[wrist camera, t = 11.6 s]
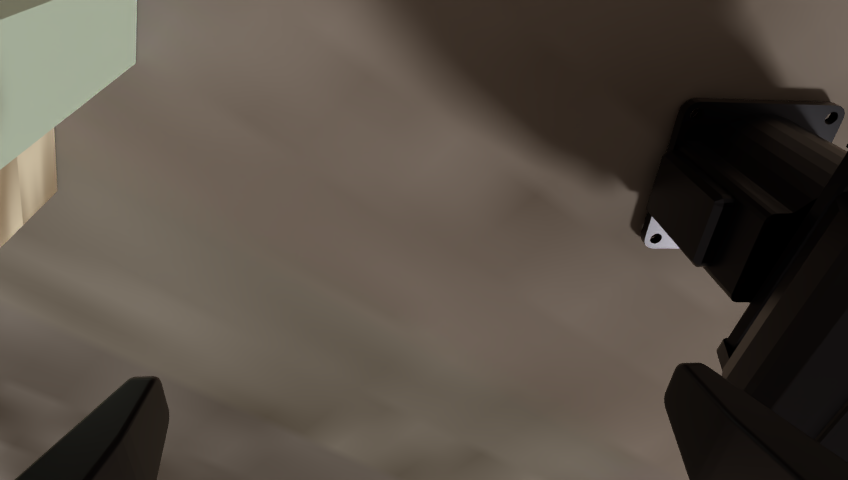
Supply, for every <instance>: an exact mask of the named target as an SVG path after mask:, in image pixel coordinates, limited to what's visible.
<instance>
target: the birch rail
mask: <svg viewBox="0 0 848 480" xmlns="http://www.w3.org/2000/svg"><path fill="white" fill-rule="evenodd" d="M56 192H57V173H56V154H55V135H54V128H53V129H51V130H50V131H49V132H48V133H46V134H45V135H44V136H43V137H41V138H40V139H39V140H37V141H36V142H35V143H34V144H32V145H31V146H30V147H29V148H27V149H26V150H25V151H23V152H22V153H21V154H20V155H18V156H17V157H16V158H15V159H13V160H12V161H11V162H9V163H8V164H7V165H6V166H4V167H3V168H2V169H1V170H0V248H1V247H2V246H3V245H4V244H5V243H6V242H7V241H8V240H9V239H10V238H11V237H12V236H13V235H14V234H15V233H16V232H17V231H18V230H19V229H20V228H21V227H22V226H23V225H24V224H25V223H26V222H27V221H28V220H29V219H30V218H31V217H32V216H33V215H34V214H35V213H36V212H37V211H38V210H39V209H40V208H41V207H42V206H43V205H44V204H45V203H46V202H47V201H48V200H49V199H50V198H51V197H52V196H53V195H54V194H55V193H56Z"/></svg>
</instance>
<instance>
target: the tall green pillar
mask: <svg viewBox="0 0 848 480" xmlns="http://www.w3.org/2000/svg"><path fill="white" fill-rule="evenodd" d="M136 25H137V0H0V170H1V169H2V168H3V167H4V166H6V165H7V164H8V163H9V162H11V161H12V160H13V159H15V158H16V157H17V156H18V155H20V154H21V153H22V152H23V151H25V150H26V149H27V148H29V147H30V146H31V145H32V144H34V143H35V142H36V141H37V140H39V139H40V138H41V137H43V136H44V135H45V134H46V133H48V132H49V131H50V130H51V129H53V128H54V127H55V126H57V125H58V124H59V123H60V122H62V121H63V120H64V119H65V118H67V117H68V116H69V115H71V114H72V113H73V112H74V111H76V110H77V109H78V108H79V107H81V106H82V105H83V104H85V103H86V102H87V101H88V100H90V99H91V98H92V97H93V96H95V95H96V94H97V93H99V92H100V91H101V90H102V89H104V88H105V87H106V86H107V85H109V84H110V83H111V82H113V81H114V80H115V79H116V78H118V77H119V76H120V75H121V74H123V73H124V72H125V71H127V70H128V69H129V68H130V67H132V66H133V65H134V64H135V63H136Z"/></svg>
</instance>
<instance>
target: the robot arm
mask: <svg viewBox="0 0 848 480" xmlns="http://www.w3.org/2000/svg"><path fill="white" fill-rule="evenodd" d="M697 108H698V112H697V114H696V115H695V116H693V117H690V114H691V113H692V111H693V110H695V109H697ZM829 113H831V114H830V116H829V117H828V118H827V119H826V120H825V118H826V116H827V115H828V114H829ZM844 114H845V112H844V109H843V108H842V107H841V106H839V105H837V104H835V103H831V102H809V101H775V100H742V99H708V98H694V99H690V100H688V101H686V102H685V103H684V104H683V105H682V106H681V108H680V110H679V113H678V117H677V120H676V123H675V126H674V129H673V133H672V136H671V139H670V142H669V145H668V149H667V152H666V153H665V154H664V155H663V156H662V159H661V163H660V166H659V169H658V172H657V176H656V179H655V182H654V185H653V189H652V192H651V195H650V198H649V201H648V205H647V211H648V213H647V216H646V219H645V222H644V226H643V229H642V232H641V239H642V241H643V242H644V244H645V245H646V246H647V247H649V248H680V249H681V251H682V252H683V253H684V254H685V255H686V256H687V257H688V259H689V260H690V261H691V262H692V263H693V264H694V265H695V266H696V267H703V268H704V269H705V270H706V271H707V272H708V274H709V275H710V276H711V277H712V278H713V279H714V280H715V281H716V283H717V284H718V285H719V286H720V287H721V288H722V289H723V291H724V292H725V293H726V294H727V295H728V296H729V297H730V299H731V300H732V301H734V302H749V303H750V305H749V306H748V308H747V309H746V311H745V312H744V314H743V315H742V317H741V319H740V320H739V322H738V323H737V325H736V326H735V328H734V330H733V331H732V333H731V334H730V336H729V337H728V338H725V339H723V341H722V342H721V344H720V346H719V347H718V349H717V354H718V358H719V361H720V364H721V368H722V371H723V372H722V376H721V375H719V374H718V373H716V372H715V371H713V370H712V369H711V368H709V367H708V366H706V365H704V364H702V363H681V364H679V365H678V366H677V367H676V368H675V371H674V373H673V375H672V378H671V380H670V383H669V385H668V387H667V390H666V392H665V397H664V403H665V408H666V411H667V414H668V417H669V420H670V423H671V426H672V429H673V432H674V435H675V438H676V441H677V444H678V447H679V450H680V453H681V456H682V459H683V462H684V465H685V468H686V471H687V474H688V477H689V479H690V480H848V152H847V151H845V150H843V149H841V148H840V147H838V146H836V145H834V144H832V141H833V139H834V137H835V135H836V133H837V131H838V129H839V127H840V124H841V122H842V120H843V118H844ZM846 147H847V148H848V144H847V146H846ZM657 233H658V234H657ZM654 234H657V236H656V237H654V238H651V237H652V236H653V235H654ZM650 238H651V239H650ZM168 424H169V409H168V405H167V402H166V398H165V394H164V391H163V387H162V383H161V381H160V379H159V378H158V377H155V376H146V377H133V378H130V379H129V380H127V381H126V382H125V383H124V384H123V385H122V386H120V387H119V388H118V389H117V390H116V391H115V392H114V393H112V394H111V395H110V396H109V397H108V398H107V399H106V400H105V401H103V402H102V403H101V404H100V405H99V406H98V407H97V408H95V409H94V410H93V411H92V412H91V413H90V414H89V415H88V416H86V417H85V418H84V419H83V420H82V421H81V422H80V423H78V424H77V425H76V426H75V427H74V428H73V429H72V430H70V431H69V432H68V433H67V434H66V435H65V436H64V437H63V438H61V439H60V440H59V441H58V442H57V443H56V444H55V445H53V446H52V447H51V448H50V449H49V450H48V451H47V452H46V453H44V454H43V455H42V456H41V457H40V458H39V459H38V460H36V461H35V462H34V463H33V464H32V465H31V466H30V467H28V468H27V469H26V470H25V471H24V472H23V473H22V474H21V475H19V476H18V477H17V478H16V479H15V480H157V475H158V470H159V466H160V461H161V456H162V452H163V447H164V443H165V438H166V433H167V429H168Z"/></svg>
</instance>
